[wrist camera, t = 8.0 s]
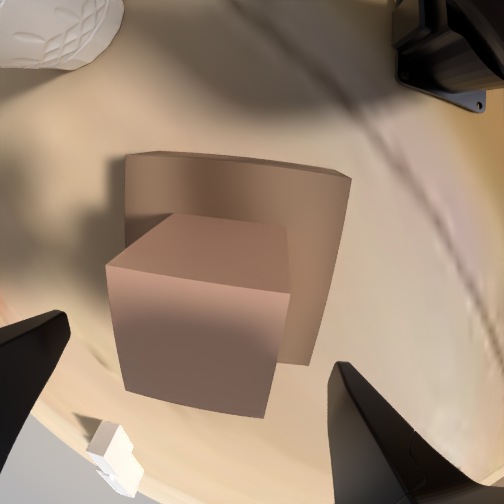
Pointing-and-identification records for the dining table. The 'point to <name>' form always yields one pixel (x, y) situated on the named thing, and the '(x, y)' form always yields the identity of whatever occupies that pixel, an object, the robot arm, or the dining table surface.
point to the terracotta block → (201, 312)
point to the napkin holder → (115, 458)
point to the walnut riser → (251, 218)
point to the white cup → (56, 32)
